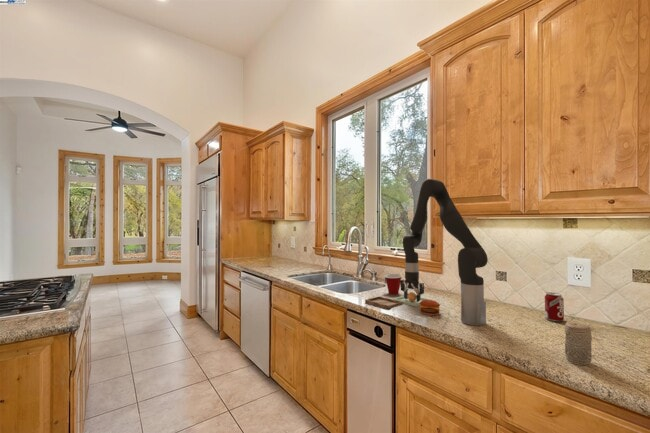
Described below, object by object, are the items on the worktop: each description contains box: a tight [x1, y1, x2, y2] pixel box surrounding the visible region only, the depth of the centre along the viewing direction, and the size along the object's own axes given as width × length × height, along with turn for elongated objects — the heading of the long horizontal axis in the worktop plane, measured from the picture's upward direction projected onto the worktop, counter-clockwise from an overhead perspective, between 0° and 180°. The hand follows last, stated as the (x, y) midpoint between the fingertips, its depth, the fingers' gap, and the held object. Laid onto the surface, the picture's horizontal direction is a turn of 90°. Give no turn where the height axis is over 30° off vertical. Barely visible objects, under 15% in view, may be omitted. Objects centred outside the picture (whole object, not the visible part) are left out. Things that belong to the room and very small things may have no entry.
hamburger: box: [419, 299, 441, 317], centre depth 142 cm, size 9×10×7 cm
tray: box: [364, 295, 403, 310], centre depth 159 cm, size 16×12×2 cm
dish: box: [392, 295, 433, 308], centre depth 162 cm, size 15×15×2 cm
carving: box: [564, 321, 593, 366], centre depth 92 cm, size 6×8×12 cm
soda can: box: [544, 291, 565, 323], centre depth 132 cm, size 7×7×12 cm
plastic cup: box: [383, 273, 403, 296], centre depth 181 cm, size 11×11×12 cm
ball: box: [407, 291, 417, 301], centre depth 162 cm, size 5×5×5 cm
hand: (412, 300), depth 162 cm, fingers open, 7 cm apart
